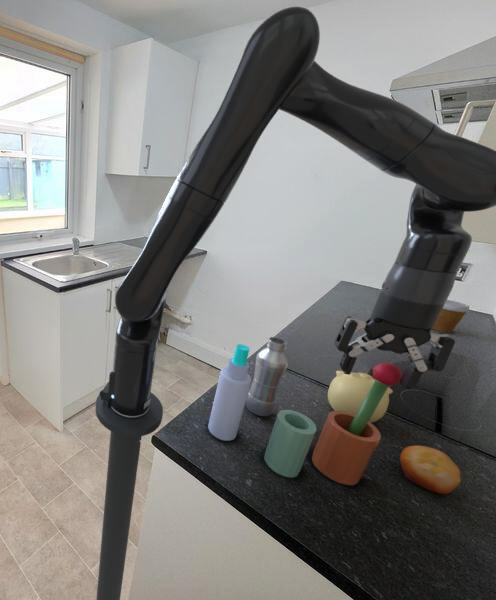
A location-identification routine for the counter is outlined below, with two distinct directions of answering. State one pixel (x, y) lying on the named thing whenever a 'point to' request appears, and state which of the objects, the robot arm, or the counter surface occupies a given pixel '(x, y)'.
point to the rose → (375, 395)
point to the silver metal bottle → (267, 377)
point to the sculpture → (355, 394)
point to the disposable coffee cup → (450, 316)
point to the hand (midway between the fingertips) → (374, 379)
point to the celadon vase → (289, 443)
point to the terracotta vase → (344, 448)
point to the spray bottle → (230, 396)
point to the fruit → (430, 469)
